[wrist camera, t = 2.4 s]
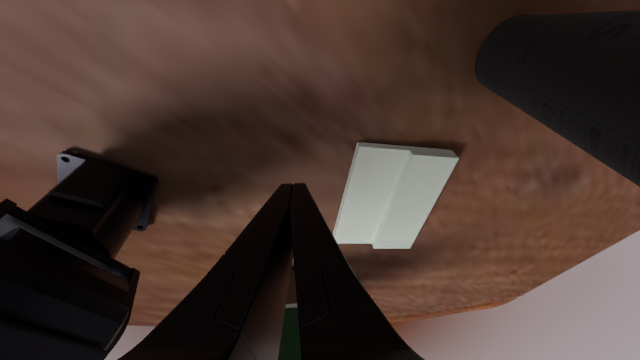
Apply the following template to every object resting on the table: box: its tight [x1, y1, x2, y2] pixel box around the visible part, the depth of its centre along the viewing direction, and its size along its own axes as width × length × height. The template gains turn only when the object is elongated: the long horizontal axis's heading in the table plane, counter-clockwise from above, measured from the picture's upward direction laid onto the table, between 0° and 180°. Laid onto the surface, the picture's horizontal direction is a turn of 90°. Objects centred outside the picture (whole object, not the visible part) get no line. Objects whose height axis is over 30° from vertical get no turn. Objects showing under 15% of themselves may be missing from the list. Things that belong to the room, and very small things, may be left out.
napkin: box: [333, 142, 459, 249], centre depth 25 cm, size 12×9×2 cm
